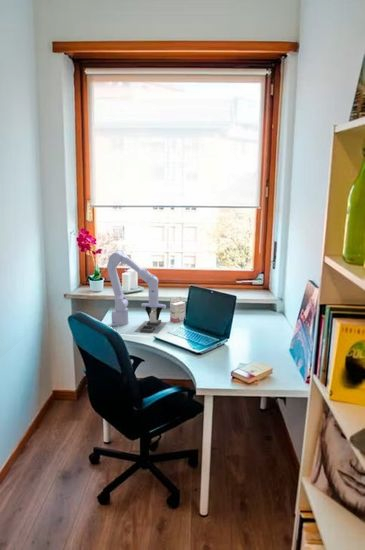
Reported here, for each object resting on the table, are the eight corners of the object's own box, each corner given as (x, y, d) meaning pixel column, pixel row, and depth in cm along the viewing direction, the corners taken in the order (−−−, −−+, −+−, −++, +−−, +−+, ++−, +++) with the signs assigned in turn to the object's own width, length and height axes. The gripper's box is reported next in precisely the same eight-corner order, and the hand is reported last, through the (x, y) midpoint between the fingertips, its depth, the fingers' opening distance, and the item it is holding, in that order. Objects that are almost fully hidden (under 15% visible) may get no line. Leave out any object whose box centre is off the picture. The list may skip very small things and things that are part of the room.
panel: (133, 333, 229) (133, 329, 229) (145, 322, 248) (145, 318, 248) (157, 335, 226) (157, 330, 226) (167, 323, 245) (167, 319, 245)
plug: (149, 323, 241) (149, 312, 240) (151, 321, 245) (151, 310, 244) (156, 323, 240) (156, 312, 239) (158, 321, 244) (158, 310, 243)
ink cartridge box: (175, 323, 245) (174, 300, 242) (170, 321, 249) (169, 298, 246) (186, 320, 250) (185, 297, 247) (180, 318, 254) (180, 295, 251)
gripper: (139, 298, 237) (140, 320, 240) (163, 299, 234) (163, 322, 237) (143, 295, 244) (144, 316, 247) (166, 296, 241) (167, 318, 243)
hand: (154, 319), depth 242 cm, fingers closed on plug, 4 cm apart
